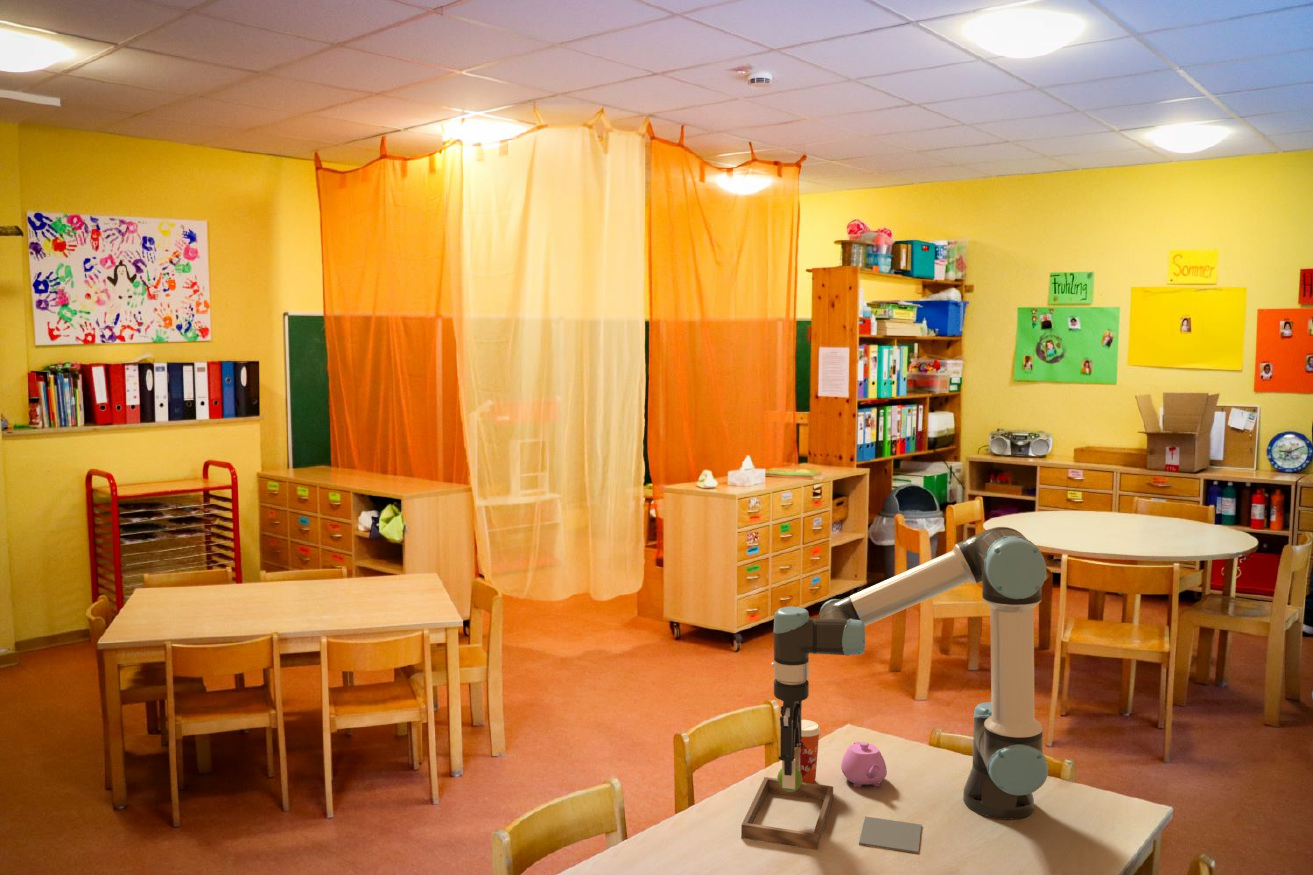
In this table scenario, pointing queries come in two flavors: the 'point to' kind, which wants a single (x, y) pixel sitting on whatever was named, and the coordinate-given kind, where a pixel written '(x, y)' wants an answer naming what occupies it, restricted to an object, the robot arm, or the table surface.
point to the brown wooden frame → (787, 835)
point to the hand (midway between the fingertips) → (791, 781)
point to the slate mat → (890, 834)
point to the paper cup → (809, 750)
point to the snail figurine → (797, 773)
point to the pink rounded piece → (863, 764)
